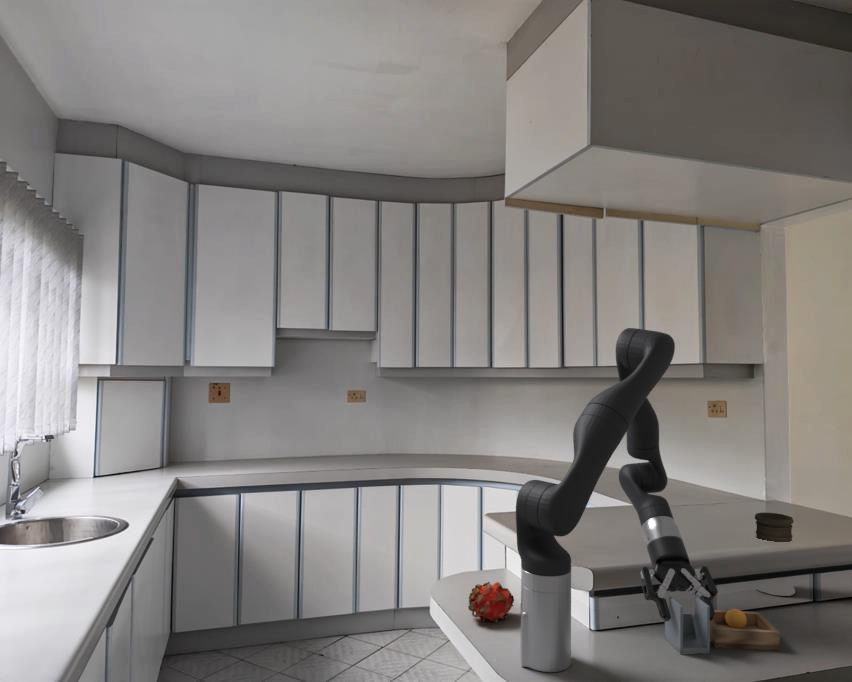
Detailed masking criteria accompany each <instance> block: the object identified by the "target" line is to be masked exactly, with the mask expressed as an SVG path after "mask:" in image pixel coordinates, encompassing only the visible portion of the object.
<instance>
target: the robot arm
mask: <svg viewBox="0 0 852 682" xmlns="http://www.w3.org/2000/svg"><path fill="white" fill-rule="evenodd" d="M675 343H676V342H675V340H674V338H673V337H672V336H671V335H670V334H668V333H666V332H661V331H657V330H651V329H649V330H648V329H642V328H637V327H635V328H634V327H628V328H625V329H623V330H622V331H621V333H619V335H618V337H617V340H616V343H615V362H616V368H617V374H618V375H617V376H618V380H619V382H617V383H616V384H613V385H612V386H610V387H608V388H606V389H605V390H603V391H601V392H599V393H598V394H596V395H595V396H594V397H592V398H591V399H590V401H589V402H588V403H587V404H586V405H585V407H584V409H583V410H582V412H581V414H580V415H579V417H578V418H577V420H576V422H575V424H574V427H573V433H572V434H573V435H572V438H573V439H572V440H573V460H572V463H571V465H570V467H569V469H568V471H567V472H566V474H565V476H564V477H563V479H562V480H561V481H560V482H559V483H553V482H550V481H544V480H540V479H532V480H528V481H526V482H525V483H524V484H523V485H522V486H521V488H520V490H519V491H518V494H517V497H516V501H515V502H516V503H515V529H516V547H517V552H518V555H519V557H520V561H521V563H520V565H521V568H520V571H521V572H520V573H521V577H520V578H521V579H520V580H521V581H520V590H521V591H520V595H521V596H520V633H519V634H520V636H519V637H520V644H519V645H520V646H519V647H520V648H519V649H520V665H521V667H523V668H524V667H527V668H529V669H532V670H534V671H538V672H544V673H556V672H562V671H564V670H567V669H569V668H570V666H571V663H572V558H571V555H570V553H569V552H568V551H567V550H566V549H565V548H564V547H563V546H562V545H561V544H560V543H559V542H558V540H557V539H556V537H565V536H568V535H569V534H570V533H572V532H573V530H574V529H575V528H576V527H577V526H578V524H579V522H580V520H581V519H582V517H583V515H584V512H585V510H586V508H587V506H588V503H589V501H590V499H591V497H592V494H593V492H594V490H595V487H597V486H596V485H598V481H599V479H600V478H601V475H602V474H603V472H604V470H605V469H606V467H607V464H608V463H609V461H610V459H611V457H612V455H613V454H614V452H615V451H616V449H618V446H619V445H620V444H621V442H622V440H623V438H624V436H625V434H626V451H627V453H628V455H629V456H630V457H631V458H634V459H637V460H642V461H644V462H634V463H627V464H626V463H625V464H623V465H622V466H621V467H620V470H618V481H619V484H620V488H621V489H622V491H623V492H624V494H625V495H626V497H627V498H628V500H629V501H630V503H631V504H632V505H633V507H634V509H635V511H636V513H637V515H638V520H639V523H640V526H641V529H642V536H643V540H644V544H645V546H646V550H647V552H648V555H649V559H650V562H651V563H650V564H651V566H652V569H650V568H649V567H648V566H643V567H642V569H641V571H640V572H639V578H640V581H641V582H640V583H641V587H642V591H643V597H644V599H645V600H646V601H652V602H655V604H656V607H657V610H658V615H659V617H660V618H661V619H662V620H663V621H664V622H665V621H669V620H670V619H671V615H670V612H669V604H668V601H667V599H666V598H665V595H666V593H667V591H669V592H677V591H679V592H686V591H687V592H688V593H689V594H690V595H692V596H694V597H698V598H699V599H701V600H702V601H703V602H704V603H706V604H707V605H708V606H710V621H711V620H712V619H713V617H714V615H715V611H714V610H715V608H714V606H713V603H712V601H711V600H714V599H715V597H716V596H717V595H718V594H719V593H718V589H717V586H716V584H715V582H714V580H713V577H712V575H711V573H710V570H709V568H708V567H707V566H706V565H703V566H701V567H700V568H694V567H693V566H692V565H691V561H690V557H689V555H688V552H687V549H686V546H685V543H684V540H683V538H682V535H681V532H680V530H679V527H678V525H677V523H676V521H675V519H674V516H673V513H672V510H671V508H670V507H671V506H670V505H669V502H668V500H667V499H666V498H665V497H664V496H661V495H657V494H655V493H661V492H663V491H664V490H665V489H666V487H667V486H668V482H669V481H668V475H667V472H666V469H665V466H664V464H663V463H664V462H663V460H662V456H661V451H660V424H659V420H658V419H659V418H658V415H657V414H656V411H655V409H654V407H653V406H652V404H651V401H650V400H649V398H648V396H649V395H650V394H651V392H652V391H653V390H654V388H655V386H656V385H657V384H658V383H659V382H660V380H661V379H662V378H663V376H664V375H665V373H666V372H667V370H669V367H670V365H671V364H672V361H673V359H674V355H675V349H676V344H675ZM695 576H696V578H697V579H698V580H697V579H696V578H695ZM653 578H654V579H656V580H657V581H658V582H659V583H660V585H659V588H658V589H657V590H656V591H654V586H653V582H652V579H653ZM699 581H700V582H699Z"/></svg>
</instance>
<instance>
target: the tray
mask: <svg viewBox="0 0 852 682" xmlns="http://www.w3.org/2000/svg"><path fill="white" fill-rule="evenodd" d="M714 611H715V615H714V617H713V619H712V620H711V621H710V640H711V641H710V642H711V643H712V645H713V647H715V648H719V647H721V648H722V649H723V648H724V649H740V650H755V649H761V650H760V651H773V650H779V651H780V652H781V638H780V637H781V633H780V631H779V630H778V629H777V628H776V626H775V627H774V625H773V624H771V622H770V621H769V620H768V619H767V618H766V617H765V616H764V615H763V614H762V613H761V612H759V611H744V610H743V611H742V610H741V611H742V612H743V613H744V614H745V616H746V618H747V624H746V626H745V627H744V628H743V629H738V628H731V627H730V626H729V625H728V624H727V622H726V619H725V616H726V613H727V612H728V611H729V610H724V609H714Z"/></svg>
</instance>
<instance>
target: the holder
mask: <svg viewBox="0 0 852 682" xmlns="http://www.w3.org/2000/svg"><path fill="white" fill-rule="evenodd" d="M668 608H669V612H670V615H671V619H670V620H669V621H664V639H665V640H666V639H667V640H668V641H669V642H668V641H667V640H666V641H667V642H668V643H669V644H670V646H672V647H673V648H674V650H676V652H677V651H678V652H679V653H680V655H684V654H683V653H694V654H693V655H696V654H695V653H704V654H703V655H706V654H705V653H711V652H710V650H711V646H710V645H711V643H710V642H711V641H710V606H708V605H707V604H706V603H704V602H703V601H702V600H701V599H699V598H698V597H696V596H694V613H693V612H684V607H683V606H682V605H681V604H680V603H678V601H676V600H675V599H674V598H672V596H670V597H668ZM678 652H677V653H678Z"/></svg>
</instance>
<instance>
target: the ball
mask: <svg viewBox="0 0 852 682" xmlns="http://www.w3.org/2000/svg"><path fill="white" fill-rule="evenodd" d="M727 611H728V612H727V613H726V616H725V619H726V622H727V624H728V625H729V626H730V627H731V628H738V629H743V628H744V627H745V626H746V624H747V618H746V616H745V614H744V613H743V612H742V610H740V609H739V608H730V609H729V610H727Z"/></svg>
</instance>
